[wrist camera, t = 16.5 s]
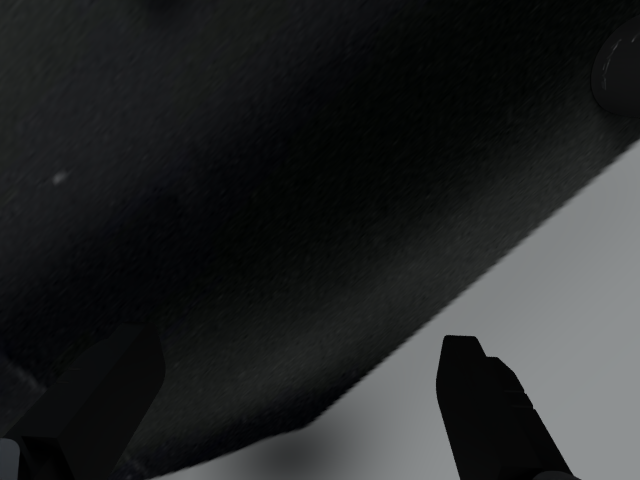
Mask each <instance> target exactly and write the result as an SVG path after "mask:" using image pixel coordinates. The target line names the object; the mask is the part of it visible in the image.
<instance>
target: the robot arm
mask: <svg viewBox="0 0 640 480" xmlns="http://www.w3.org/2000/svg"><path fill="white" fill-rule="evenodd" d="M591 88H592V91H593V95H594V97H595V99H596V100H597V102H598V104H599V105H600V106H602V107H603V108H604V109H605V110H607V111H609V112H611V113H613V114H618V115H623V116H630V117H636V118H640V15H638V16H636V17H633V18H632V19H630V20H628V21H627V22H625V23H624V24H622V25H621V26H620V27H619V28H618V29H616V30H615V31H614V32H613V33H612V34H611V35H610V37H609V38H608V39H607V40H606V41H605V43H604V44H603V46H602V47H601V49H600V51H599V52H598V54H597V56H596V59H595V62H594V64H593V68H592V74H591ZM164 377H165V361H164V356H163V352H162V348H161V343H160V339H159V334H158V330H157V327H156V325H155V324H154V323H152V322H123V323H122V324H121V325H120V326H119V327H118V328H117V329H116V330H115V331H114V332H113V334H112V335H111V336H110V337H109V338H108V339H103V340H101V341H100V342H98V343H96V344H95V345H93V346H92V347H90V348H89V349H87V350H86V351H84V352H83V353H82V354H81V355H80V356H79V357H78V358H77V359H76V360H75V361H74V362H73V364H72V365H71V366H70V367H69V370H68V371H65V372H64V373H63V374H62V375H61V376H60V377H59V378H58V379H57V382H56V384H53V385H52V386H51V387H50V388H49V389H48V390H47V391H46V392H45V393H44V394H43V395H42V396H41V397H40V399H39V400H38V401H37V402H36V403H35V404H34V405H33V406H32V407H31V408H30V409H29V410H28V411H27V412H26V413H25V414H24V416H23V417H22V418H21V419H20V420H19V421H18V422H17V423H16V424H15V425H14V426H13V427H12V428H11V429H10V430H9V431H8V433H7V434H6V435H5V436H4V437H3V438H0V480H107V479H108V477H109V475H110V473H111V472H112V470H113V468H114V467H115V465H116V463H117V461H118V460H119V458H120V456H121V455H122V453H123V451H124V450H125V448H126V446H127V444H128V443H129V441H130V439H131V438H132V436H133V434H134V432H135V431H136V429H137V427H138V426H139V424H140V422H141V421H142V419H143V417H144V415H145V414H146V412H147V410H148V409H149V407H150V405H151V403H152V402H153V400H154V398H155V397H156V395H157V393H158V392H159V390H160V388H161V386H162V384H163V381H164ZM436 393H437V400H438V404H439V407H440V410H441V414H442V418H443V421H444V424H445V428H446V432H447V435H448V438H449V442H450V445H451V449H452V452H453V456H454V459H455V463H456V466H457V470H458V473H459V477H460V480H581V479H579V478H577V477H575V476H574V475H573V474H572V472H571V471H570V469H569V467H568V466H567V464H566V462H565V460H564V459H563V457H562V455H561V453H560V452H559V450H558V448H557V446H556V445H555V443H554V441H553V439H552V438H551V436H550V434H549V432H548V431H547V429H546V427H545V425H544V424H543V422H542V420H541V418H540V417H539V415H538V413H537V412H536V410H535V409H533V405H532V403H531V401H530V399H529V398H528V396H527V394H525V393H524V389H523V387H522V385H521V384H520V382H519V380H518V379H517V377H516V375H515V373H514V372H513V371H512V370H511V369H510V368H509V367H508V366H506V365H505V364H504V363H503V362H502V361H501V360H500V359H499V358H498V357H486V355H485V353H484V351H483V349H482V347H481V345H480V343H479V341H478V339H477V338H476V337H475V336H455V335H446V336H445V337H444V340H443V344H442V349H441V355H440V361H439V366H438V371H437V378H436Z"/></svg>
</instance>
